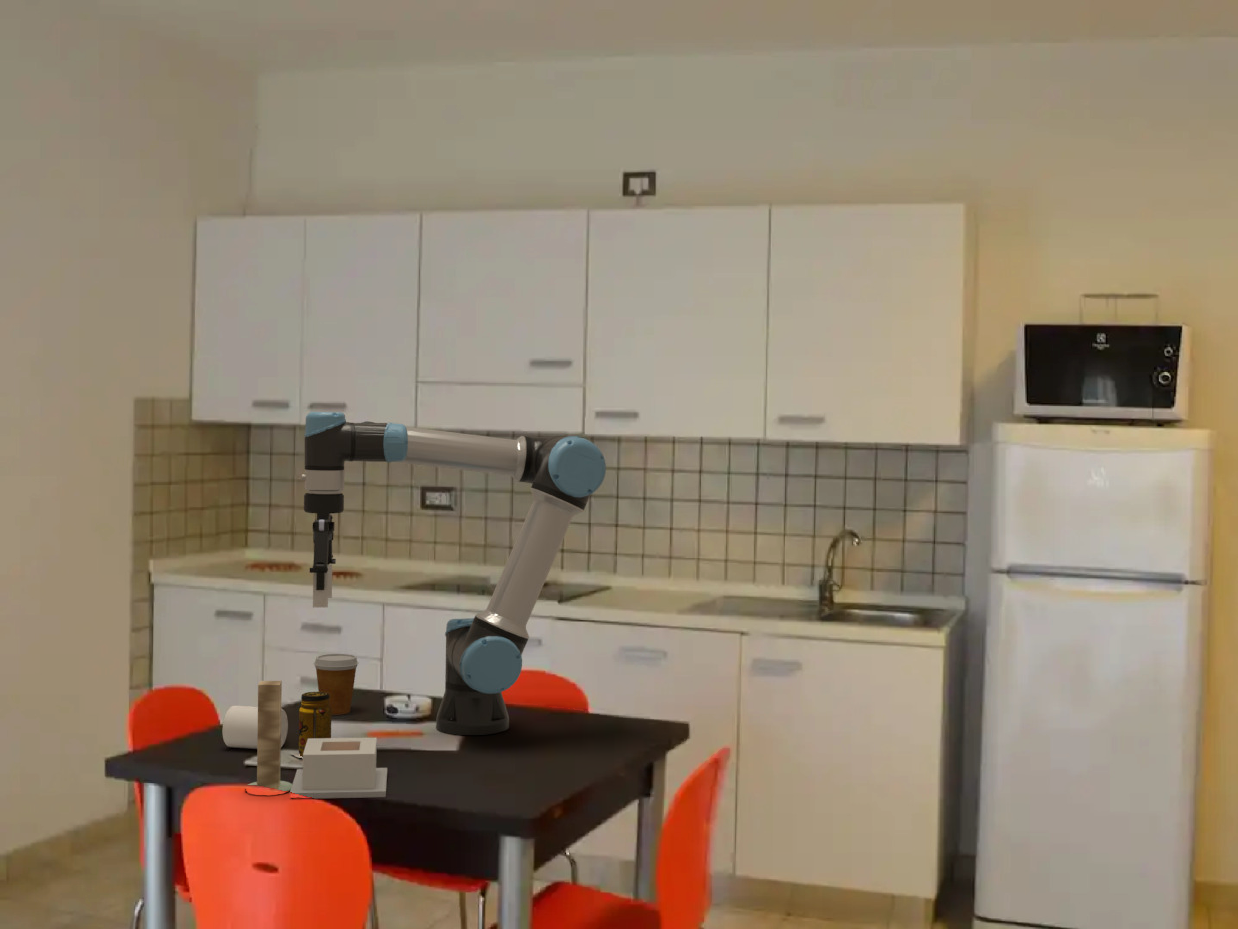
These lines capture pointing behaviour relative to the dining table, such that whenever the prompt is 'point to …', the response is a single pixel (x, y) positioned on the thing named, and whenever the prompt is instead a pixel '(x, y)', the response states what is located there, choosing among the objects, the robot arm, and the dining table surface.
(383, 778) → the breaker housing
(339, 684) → the disposable coffee cup
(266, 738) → the beige wooden block
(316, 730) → the condiment
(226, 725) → the mug
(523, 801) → the dining table surface
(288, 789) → the coaster
